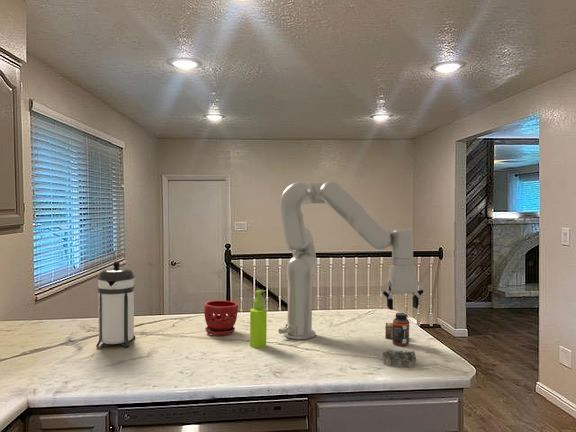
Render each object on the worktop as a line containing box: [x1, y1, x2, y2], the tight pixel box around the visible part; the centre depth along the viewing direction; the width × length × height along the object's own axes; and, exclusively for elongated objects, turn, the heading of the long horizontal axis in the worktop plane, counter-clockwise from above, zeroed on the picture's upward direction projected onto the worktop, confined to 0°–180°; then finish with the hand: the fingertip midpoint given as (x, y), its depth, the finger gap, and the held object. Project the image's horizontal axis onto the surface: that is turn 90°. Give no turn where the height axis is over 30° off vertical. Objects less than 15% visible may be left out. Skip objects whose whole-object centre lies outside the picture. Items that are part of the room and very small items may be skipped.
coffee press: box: [95, 261, 136, 350], centre depth 168 cm, size 17×16×30 cm
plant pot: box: [203, 300, 239, 337], centre depth 183 cm, size 13×13×12 cm
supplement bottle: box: [391, 312, 410, 347], centre depth 171 cm, size 6×6×11 cm
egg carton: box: [382, 349, 417, 369], centre depth 150 cm, size 11×8×4 cm
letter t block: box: [384, 322, 393, 340], centre depth 179 cm, size 5×5×5 cm
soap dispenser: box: [249, 289, 268, 349], centre depth 167 cm, size 6×7×20 cm
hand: (402, 308), depth 170 cm, fingers open, 9 cm apart
